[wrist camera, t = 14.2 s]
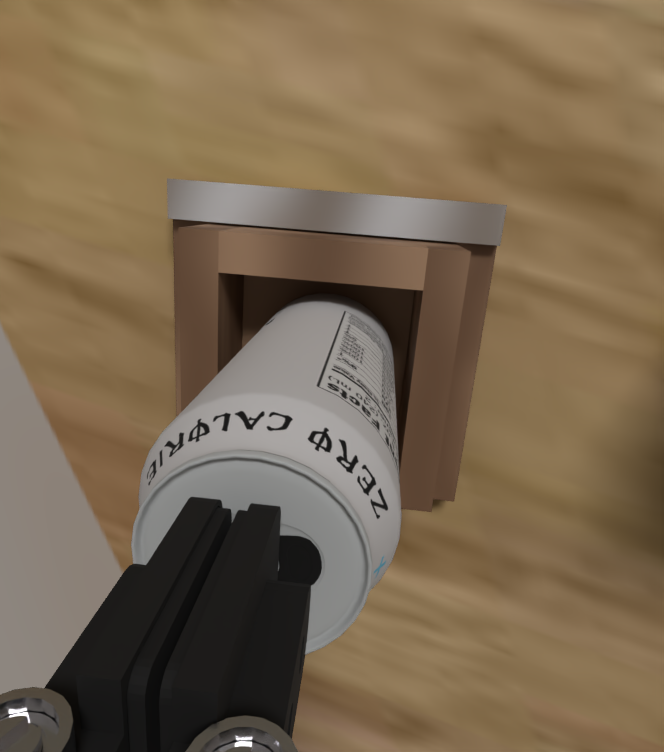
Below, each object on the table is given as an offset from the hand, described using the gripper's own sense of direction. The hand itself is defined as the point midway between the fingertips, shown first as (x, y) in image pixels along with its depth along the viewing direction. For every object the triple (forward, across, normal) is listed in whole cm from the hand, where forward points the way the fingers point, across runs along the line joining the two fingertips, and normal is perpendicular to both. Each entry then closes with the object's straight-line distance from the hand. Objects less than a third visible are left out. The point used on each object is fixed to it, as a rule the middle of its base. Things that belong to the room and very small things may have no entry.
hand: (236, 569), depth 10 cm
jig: (+17, 0, 0) cm, 17 cm away
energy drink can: (+16, 0, 0) cm, 16 cm away
